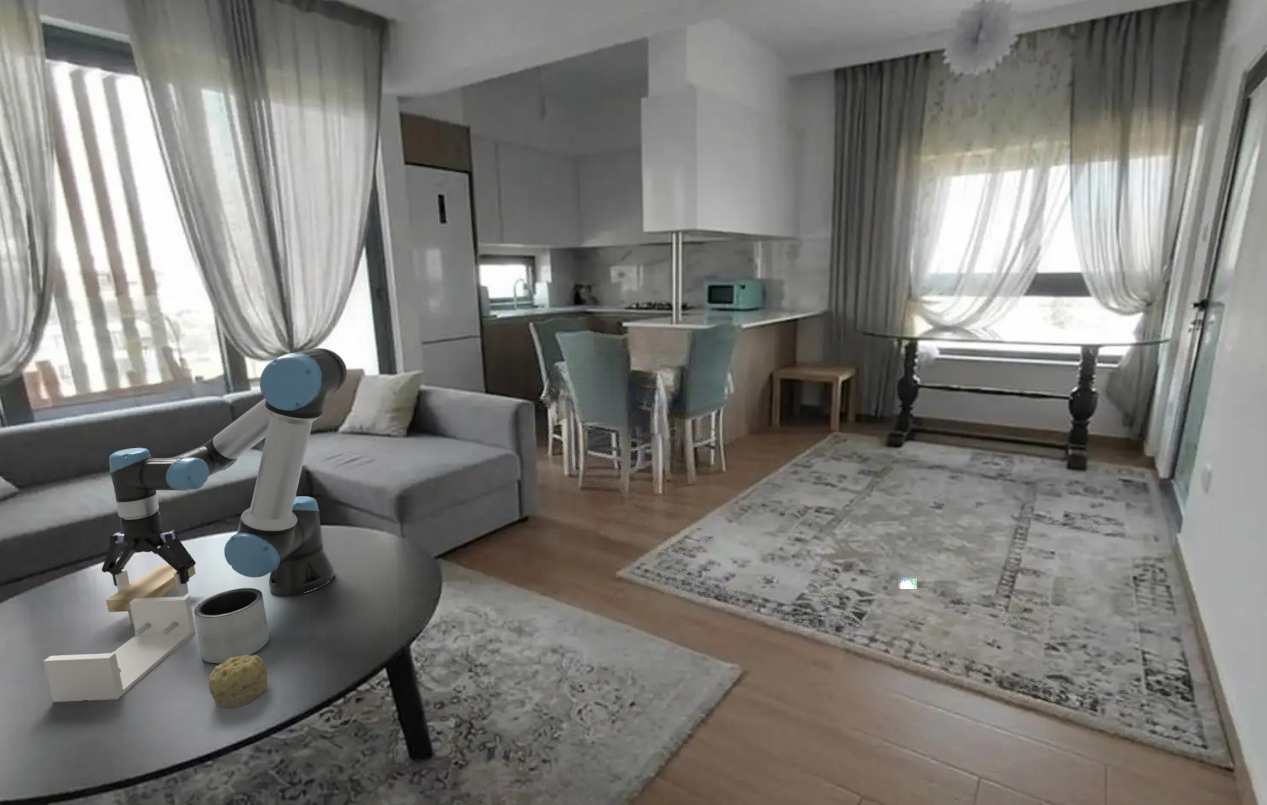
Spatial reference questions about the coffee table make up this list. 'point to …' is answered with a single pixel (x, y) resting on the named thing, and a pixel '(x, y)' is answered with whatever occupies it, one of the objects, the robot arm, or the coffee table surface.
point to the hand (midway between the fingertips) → (154, 596)
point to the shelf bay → (123, 653)
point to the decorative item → (238, 681)
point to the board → (146, 588)
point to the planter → (231, 624)
